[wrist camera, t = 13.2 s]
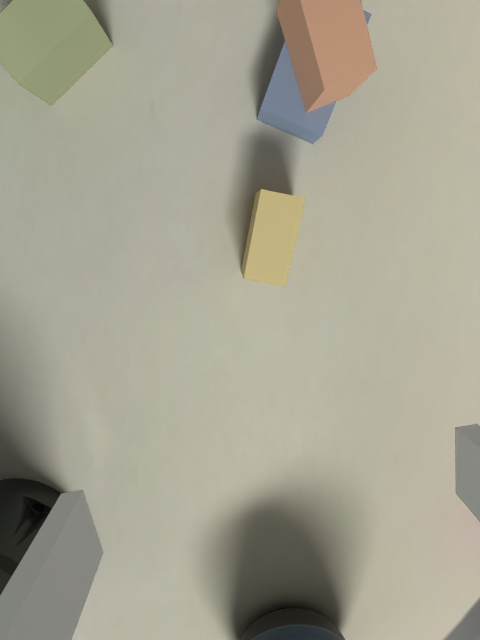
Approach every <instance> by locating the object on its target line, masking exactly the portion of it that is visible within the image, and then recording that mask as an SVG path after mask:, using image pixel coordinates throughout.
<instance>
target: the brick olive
mask: <svg viewBox="0 0 480 640" xmlns="http://www.w3.org/2000/svg"><path fill="white" fill-rule="evenodd" d="M112 46H113V45H112V43H111V41H110V40H109V38H108V37H107V35H106V33H105V32H104V30H103V29H102V27H101V25H100V24H99V22H98V21H97V19H96V18H95V16H94V14H93V13H92V11H91V10H90V8H89V7H88V6H87V4H86V3H85V2H84V1H83V0H13V1H12V2H11V3H10V4H9V5H8V6H7V7H6V8H5V9H4V10H3V11H2V12H1V13H0V64H1V65H2V66H3V67H4V68H5V69H6V71H7V72H8V73H9V74H10V75H11V76H12V77H13V79H14V80H15V81H16V82H17V83H18V84H19V85H21V86H22V87H24V88H25V89H27V90H28V91H30V92H31V93H33V94H34V95H36V96H37V97H39V98H40V99H42V100H43V101H45V102H46V103H48V104H49V105H51V106H52V105H53V104H54V103H55V102H56V101H57V100H58V99H59V98H60V97H61V96H63V95H64V94H65V93H66V92H67V91H68V90H69V89H70V88H71V87H72V86H73V85H74V84H75V83H76V82H77V81H78V80H79V79H80V78H81V77H82V76H83V75H84V74H85V73H86V72H87V71H88V70H89V69H90V68H91V67H92V66H93V65H94V64H95V63H96V62H97V61H98V60H99V59H100V58H101V57H102V56H103V55H104V54H105V53H106V52H107V51H108V50H109V49H110V48H111V47H112Z"/></svg>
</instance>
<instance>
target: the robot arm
mask: <svg viewBox="0 0 480 640" xmlns="http://www.w3.org/2000/svg"><path fill="white" fill-rule="evenodd" d="M455 472H456V494H457V495H458V497H459V498H460V499H461V500H462V501H463V502H464V504H465V505H466V506H467V507H468V508H469V509H470V511H471V512H472V513H473V514H474V515H475V517H476V518H477V519H478V520H479V521H480V426H479V425H478V424H473V425H467V426H461V427H455ZM102 554H103V550H102V547H101V544H100V541H99V538H98V534H97V531H96V528H95V525H94V522H93V519H92V516H91V513H90V510H89V507H88V504H87V501H86V498H85V495H84V492H83V490H79V491H73V492H67V493H60V492H58V491H57V490H55V489H54V488H52V487H50V486H48V485H45V484H43V483H40V482H37V481H33V480H27V479H4V480H0V640H72V637H73V634H74V631H75V629H76V626H77V623H78V620H79V618H80V615H81V612H82V609H83V607H84V604H85V601H86V598H87V596H88V593H89V590H90V587H91V585H92V582H93V579H94V576H95V574H96V571H97V568H98V565H99V563H100V560H101V557H102Z"/></svg>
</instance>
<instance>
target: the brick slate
mask: <svg viewBox="0 0 480 640" xmlns="http://www.w3.org/2000/svg"><path fill="white" fill-rule="evenodd" d="M363 11H364V10H363ZM364 15H365V19H366V24H368V21H369V19H370V16H371V14H370V13H368V12H366V11H364ZM335 103H336V101H335V102H333V103H330V104H328V105H325V106H323V107H320V108H318V109H315V110H313V111H310V112H308V113H306V111H305V107H304V104H303V101H302V97H301V94H300V90H299V87H298V83H297V80H296V76H295V73H294V70H293V66H292V63H291V59H290V56H289V52H288V49H287V46H286V42H284V45H283V47H282V50H281V53H280V56H279V58H278V61H277V64H276V67H275V69H274V72H273V75H272V78H271V80H270V83H269V86H268V89H267V92H266V94H265V97H264V100H263V103H262V105H261V108H260V111H259V114H258V117H257V120H260V121H262V122H264V123H266V124H269V125H271V126H273V127H275V128H278V129H280V130H282V131H284V132H286V133H289V134H291V135H293V136H295V137H298V138H300V139H302V140H304V141H307V142H309V143H311V144H313V143H314V142H315V141H317V140H318V139H319V138H320V137H321V136H322V135H323V133H324V130H325V128H326V125H327V123H328V120H329V118H330V115H331V113H332V110H333V108H334V105H335Z"/></svg>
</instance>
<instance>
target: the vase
mask: <svg viewBox="0 0 480 640" xmlns="http://www.w3.org/2000/svg"><path fill="white" fill-rule="evenodd" d="M240 640H345V638H344V637H343V635H342V634H341V632H340V631H339V630H338V629H337V627H336V626H335V625H334V624H333V623H332V622H331V621H330V620H328V619H327V618H326V617H324V616H322V615H320V614H318V613H316V612H313V611H310V610H306V609H299V608H288V609H281V610H277V611H273V612H271V613H268V614H266V615H264V616H262V617H260V618H259V619H257V620H256V621H255V622H253V623H252V624H251V625H250V626H249V627H248V628H247V629H246V631H245V632H244V633H243V635H242V637H241V639H240Z"/></svg>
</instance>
